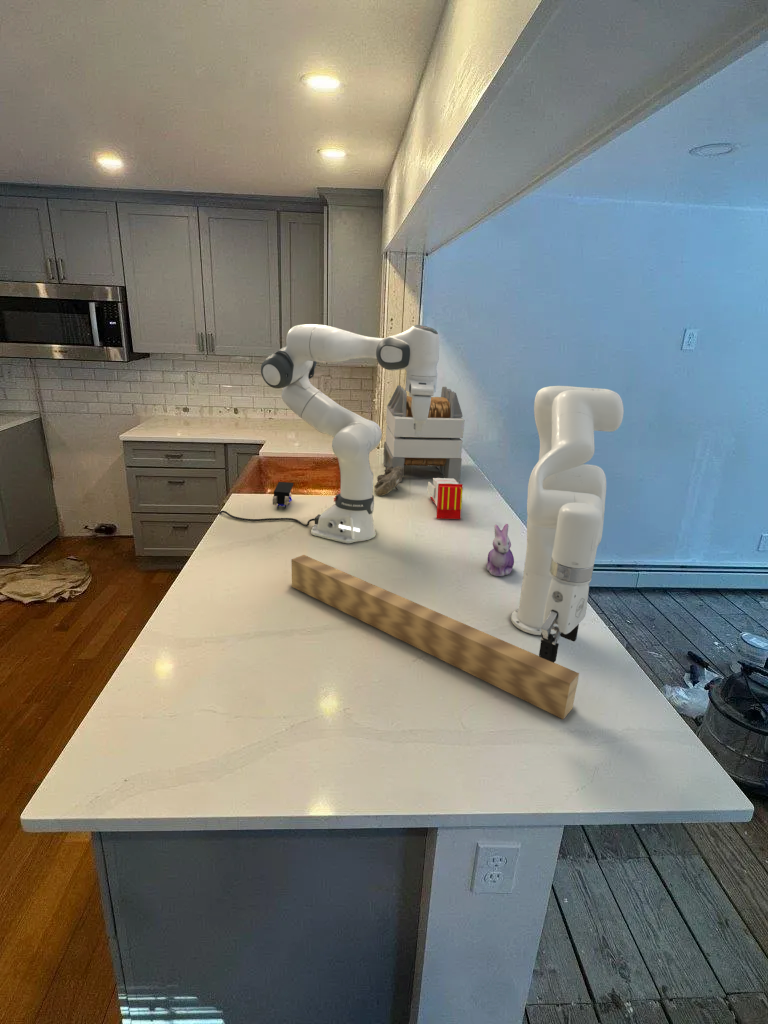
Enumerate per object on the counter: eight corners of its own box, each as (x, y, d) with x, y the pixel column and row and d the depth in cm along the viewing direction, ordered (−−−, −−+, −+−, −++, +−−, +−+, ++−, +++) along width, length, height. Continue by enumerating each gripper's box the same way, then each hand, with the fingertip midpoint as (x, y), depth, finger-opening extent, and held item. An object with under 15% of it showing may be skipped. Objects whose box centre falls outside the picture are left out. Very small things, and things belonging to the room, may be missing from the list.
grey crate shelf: (382, 463, 289) (386, 382, 275) (445, 464, 293) (451, 384, 279) (390, 482, 257) (394, 392, 243) (460, 483, 261) (468, 394, 247)
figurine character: (289, 514, 217) (294, 497, 231) (289, 496, 214) (294, 480, 227) (272, 513, 217) (278, 497, 230) (271, 495, 214) (277, 480, 227)
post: (291, 586, 159) (291, 559, 156) (303, 581, 162) (303, 554, 160) (563, 719, 112) (570, 683, 109) (572, 708, 115) (579, 673, 112)
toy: (455, 474, 240) (467, 485, 211) (453, 505, 243) (464, 520, 214) (426, 473, 240) (434, 484, 211) (425, 504, 243) (432, 519, 213)
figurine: (497, 580, 168) (503, 533, 163) (477, 566, 177) (482, 521, 172) (522, 574, 173) (529, 528, 167) (501, 561, 181) (506, 517, 176)
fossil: (373, 472, 257) (399, 454, 252) (386, 488, 260) (412, 470, 255) (367, 491, 238) (396, 472, 233) (381, 508, 240) (410, 490, 235)
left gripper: (408, 380, 173) (405, 424, 177) (411, 389, 153) (407, 439, 158) (429, 381, 173) (425, 426, 178) (434, 390, 154) (430, 440, 158)
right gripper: (572, 591, 97) (557, 676, 102) (607, 561, 109) (592, 638, 115) (531, 577, 101) (519, 659, 107) (570, 550, 114) (557, 624, 119)
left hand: (417, 432), depth 168 cm, fingers open, 8 cm apart
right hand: (557, 648), depth 111 cm, fingers open, 9 cm apart
